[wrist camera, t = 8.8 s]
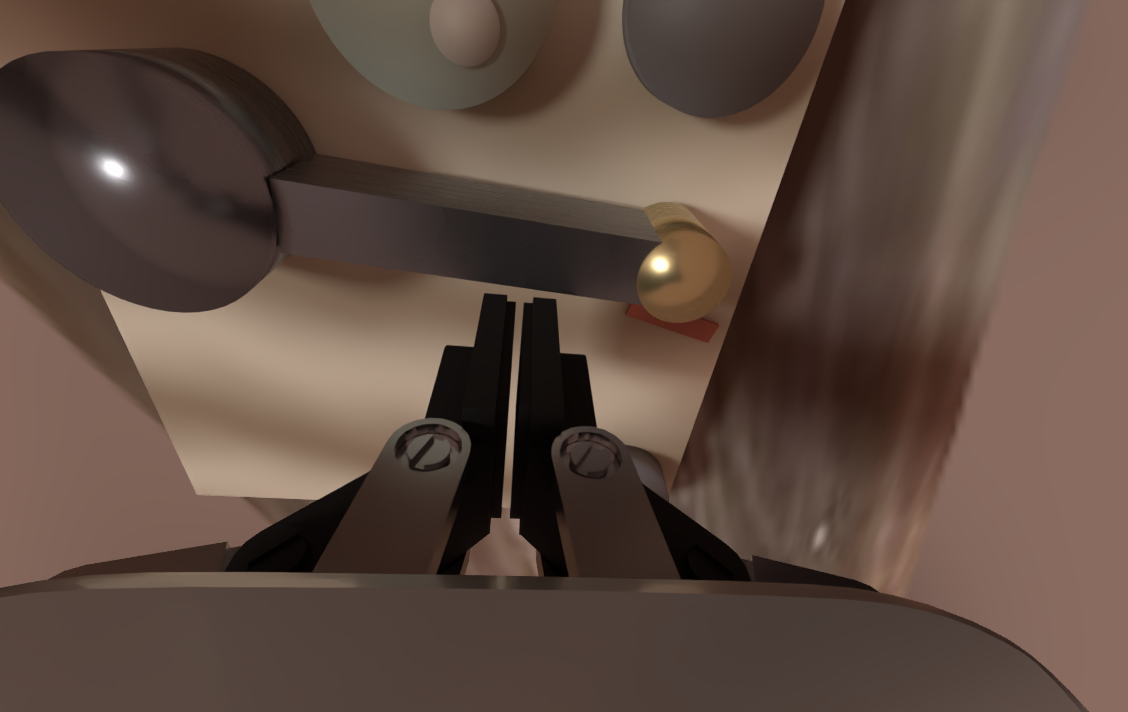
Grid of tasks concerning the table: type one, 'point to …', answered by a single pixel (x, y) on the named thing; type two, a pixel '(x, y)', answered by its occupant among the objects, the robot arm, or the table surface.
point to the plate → (474, 152)
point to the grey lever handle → (292, 197)
